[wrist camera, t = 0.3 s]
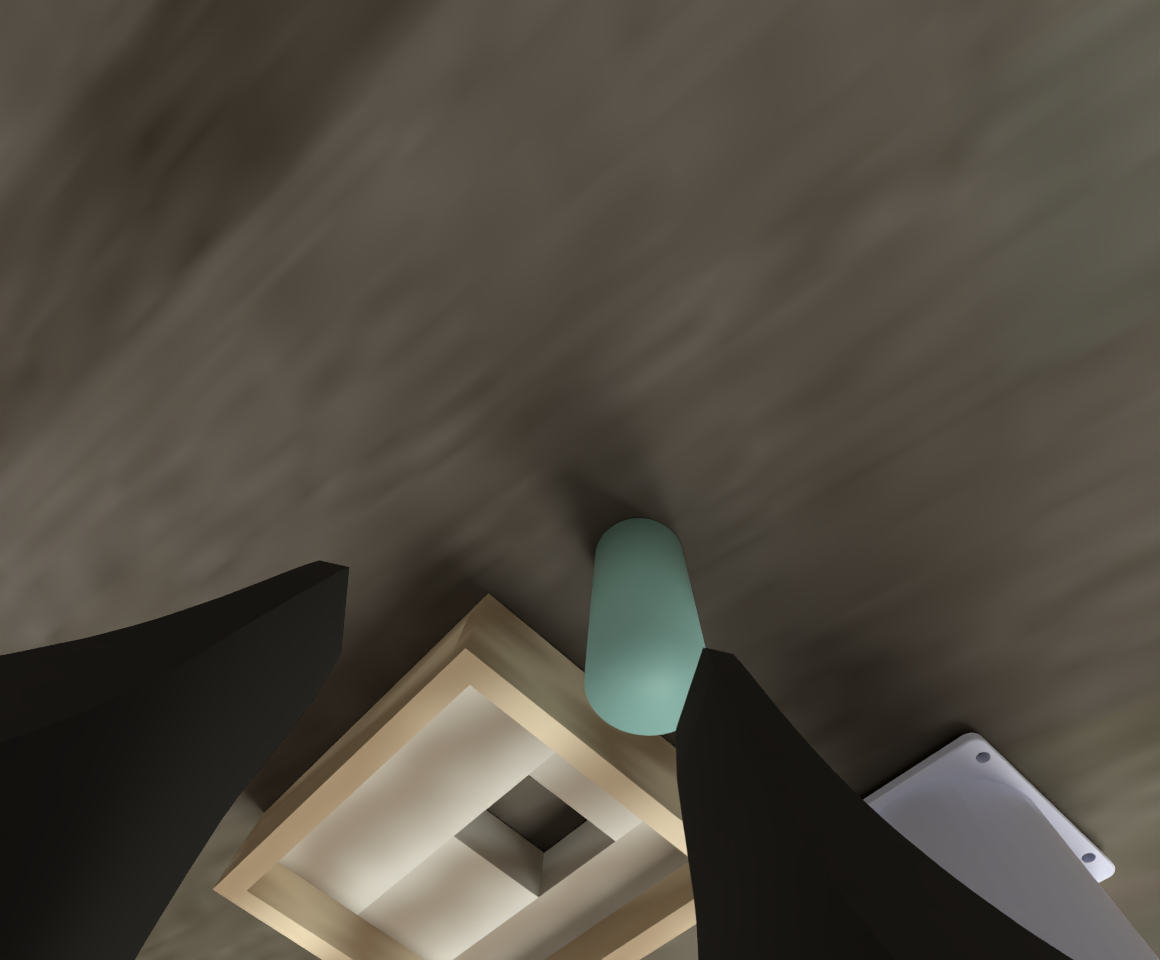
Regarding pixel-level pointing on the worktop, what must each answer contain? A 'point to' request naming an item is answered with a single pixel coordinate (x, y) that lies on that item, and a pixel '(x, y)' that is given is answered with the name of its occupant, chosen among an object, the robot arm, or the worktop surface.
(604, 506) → the worktop surface
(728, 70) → the worktop surface
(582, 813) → the bore tray
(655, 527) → the peg
